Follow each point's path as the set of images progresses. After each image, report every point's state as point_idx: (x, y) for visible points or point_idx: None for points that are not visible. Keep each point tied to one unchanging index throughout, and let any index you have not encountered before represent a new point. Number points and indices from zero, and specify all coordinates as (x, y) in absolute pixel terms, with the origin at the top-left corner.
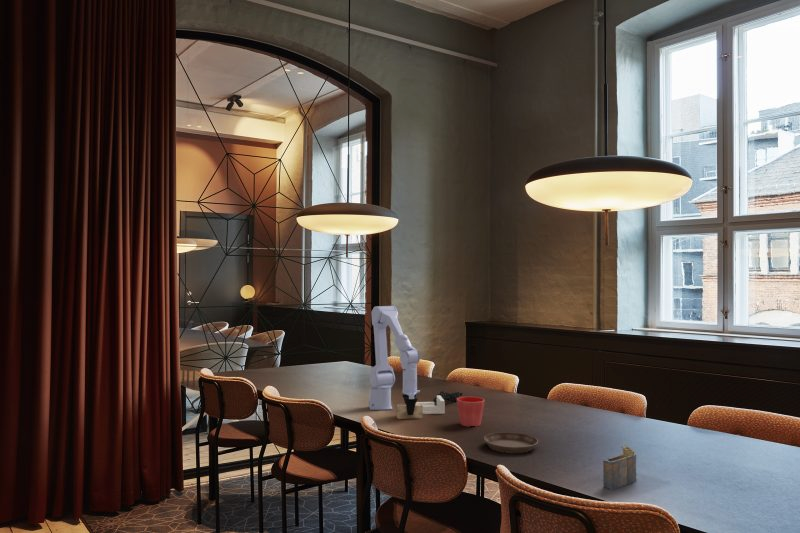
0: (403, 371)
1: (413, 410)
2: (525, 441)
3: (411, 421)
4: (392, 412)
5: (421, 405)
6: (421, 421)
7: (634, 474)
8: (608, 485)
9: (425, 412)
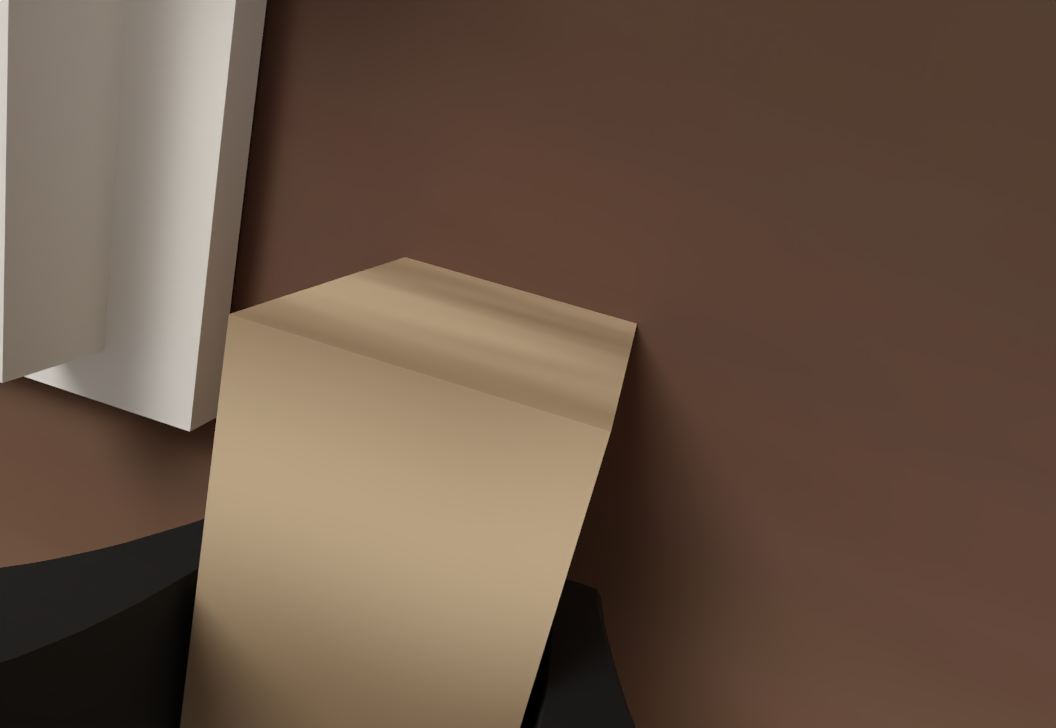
0: None
1: (612, 668)
2: None
3: (848, 681)
4: None
5: (556, 455)
6: (964, 492)
7: None
8: None
9: (233, 80)
